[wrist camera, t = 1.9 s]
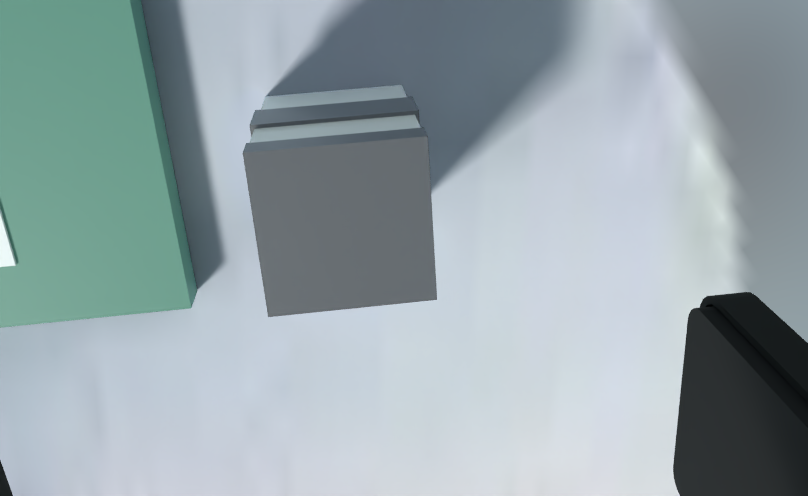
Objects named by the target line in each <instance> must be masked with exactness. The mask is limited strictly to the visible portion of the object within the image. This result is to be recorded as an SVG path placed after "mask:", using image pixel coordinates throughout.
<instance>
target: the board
mask: <svg viewBox="0 0 808 496" xmlns="http://www.w3.org/2000/svg"><path fill="white" fill-rule="evenodd" d="M196 293H197V287H196V282H195V277H194V272H193V267H192V261H191V256H190V251H189V246H188V241H187V236H186V231H185V225H184V220H183V215H182V210H181V205H180V200H179V195H178V189H177V184H176V179H175V174H174V169H173V164H172V158H171V153H170V148H169V143H168V138H167V133H166V128H165V122H164V117H163V112H162V107H161V102H160V97H159V91H158V86H157V81H156V76H155V71H154V66H153V61H152V55H151V50H150V45H149V40H148V35H147V30H146V24H145V19H144V14H143V9H142V4H141V0H0V328H1V327H11V326H20V325H30V324H40V323H50V322H60V321H70V320H80V319H89V318H99V317H109V316H119V315H129V314H139V313H149V312H158V311H168V310H178V309H188V308H191V307H192V304H193V302H194V299H195V296H196Z"/></svg>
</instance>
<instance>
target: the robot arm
mask: <svg viewBox="0 0 808 496" xmlns="http://www.w3.org/2000/svg"><path fill="white" fill-rule="evenodd" d="M673 472H674V479H675V484H676V487H677V490H678V492H679V494H680V496H808V343H807V342H806V341H805V340H804V339H802V338H801V337H800V336H799V335H798V334H797V333H796V332H795V331H794V330H793V329H791V328H790V327H789V326H788V325H787V324H786V323H785V322H784V321H783V320H781V319H780V318H779V317H778V316H777V315H776V314H775V313H774V312H773V311H772V310H771V309H770V308H769V307H767V306H766V305H765V304H764V303H763V302H762V301H761V300H760V299H759V298H758V297H757V296H755V295H754V294H752V293H750V292H743V293H734V294H724V295H715V296H707V297H705V298H704V299H703V301H702V303H701V305H700V308H694V309H692V310H691V312H690V314H689V317H688V324H687V334H686V345H685V355H684V365H683V375H682V385H681V395H680V405H679V415H678V425H677V435H676V445H675V455H674V465H673ZM0 496H13V495H12V492H11V489H10V486H9V483H8V481H7V478H6V475H5V472H4V469H3V467H2V464H1V461H0Z"/></svg>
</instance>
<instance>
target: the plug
mask: <svg viewBox="0 0 808 496" xmlns="http://www.w3.org/2000/svg"><path fill="white" fill-rule="evenodd" d="M250 130H251V140H250V143H246V145H245V148H244V151H243V157H244V164H245V170H246V177H247V183H248V190H249V196H250V202H251V209H252V215H253V222H254V228H255V235H256V241H257V247H258V254H259V260H260V267H261V273H262V280H263V286H264V292H265V299H266V305H267V312H268V317H273V316H283V315H292V314H302V313H312V312H322V311H331V310H341V309H351V308H361V307H370V306H380V305H390V304H400V303H409V302H419V301H429V300H437V292H436V274H435V256H434V238H433V221H432V203H431V185H430V167H429V150H428V136H427V134H426V131H425V129H424V127H422V128H421V127H420V125H419V110H418V108H417V106H416V104H415V102H414V100H413V98H412V97H407V96H406V94H405V91H404V89H403V87H402V85H392V86H380V87H368V88H357V89H345V90H334V91H322V92H310V93H299V94H287V95H276V96H265V99H264V102H263V105H262V108H261V110H255V112H254V115H253V118H252V120H251V123H250Z"/></svg>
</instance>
